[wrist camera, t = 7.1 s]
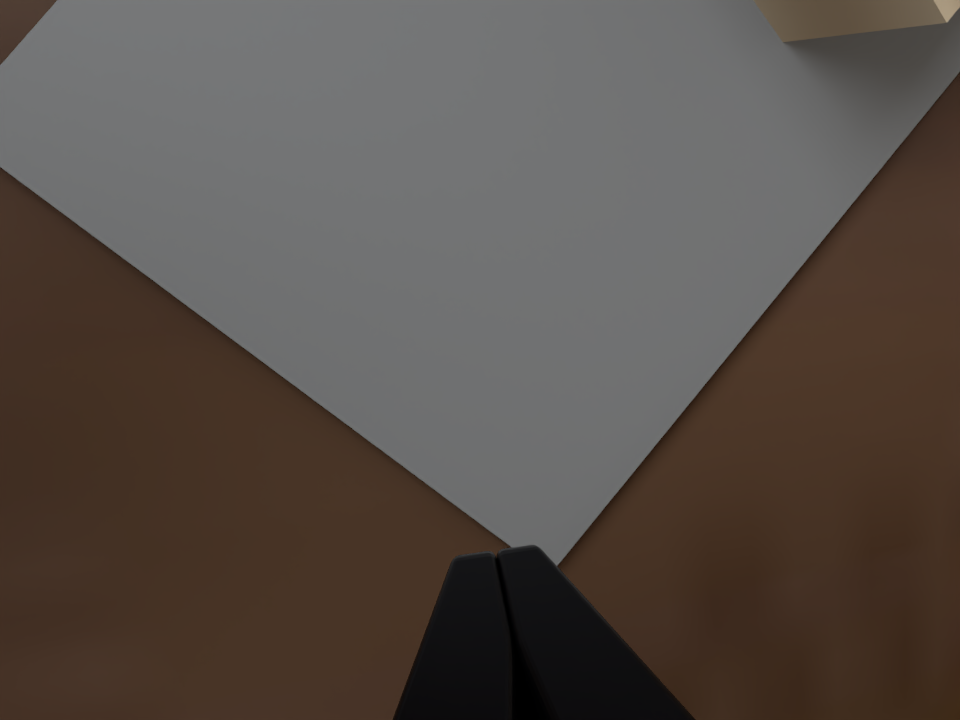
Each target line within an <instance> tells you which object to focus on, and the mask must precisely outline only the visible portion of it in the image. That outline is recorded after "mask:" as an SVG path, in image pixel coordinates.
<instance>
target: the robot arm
mask: <svg viewBox="0 0 960 720" xmlns="http://www.w3.org/2000/svg"><path fill="white" fill-rule="evenodd" d="M393 720H695V719H694V717H693V716H692V715H691V714H690V713H689V712H688V711H687V710H686V709H685V707H684V706H683V705H682V704H681V703H680V702H679V701H678V700H677V699H676V698H675V696H674V695H673V694H672V693H671V692H670V691H669V690H668V689H667V688H666V686H665V685H664V684H663V683H662V682H661V681H660V680H659V679H658V678H657V676H656V675H655V674H654V673H653V672H652V671H651V670H650V669H649V668H648V666H647V665H646V664H645V663H644V662H643V661H642V660H641V659H640V658H639V657H638V655H637V654H636V653H635V652H634V651H633V650H632V649H631V648H630V647H629V645H628V644H627V643H626V642H625V641H624V640H623V639H622V638H621V637H620V635H619V634H618V633H617V632H616V631H615V630H614V629H613V628H612V627H611V625H610V624H609V623H608V622H607V621H606V620H605V619H604V618H603V617H602V616H601V614H600V613H599V612H598V611H597V610H596V609H595V608H594V607H593V606H592V604H591V603H590V602H589V601H588V600H587V599H586V598H585V597H584V596H583V594H582V593H581V592H580V591H579V590H578V589H577V588H576V587H575V586H574V584H573V583H572V582H571V581H570V580H569V579H568V578H567V577H566V576H565V575H564V573H563V572H562V571H561V570H560V569H559V568H558V567H557V566H556V565H555V563H554V562H553V561H552V560H551V559H550V558H549V557H548V556H547V555H546V553H545V552H544V551H543V550H542V549H541V548H540V547H538V546H536V545H527V546H520V547H513V548H506V549H502V550H500V551H499V552H498V554H497V559H496V556H495V555H494V553H492V552H490V551H486V552H479V553H472V554H465V555H459V556H456V557H455V558H454V559H453V560H452V562H451V564H450V566H449V569H448V572H447V575H446V577H445V580H444V583H443V585H442V588H441V591H440V593H439V596H438V599H437V601H436V604H435V607H434V610H433V612H432V615H431V618H430V620H429V623H428V626H427V628H426V631H425V634H424V637H423V639H422V642H421V645H420V647H419V650H418V653H417V655H416V658H415V661H414V663H413V666H412V669H411V672H410V674H409V677H408V680H407V682H406V685H405V688H404V690H403V693H402V696H401V699H400V701H399V704H398V707H397V709H396V712H395V715H394V717H393Z"/></svg>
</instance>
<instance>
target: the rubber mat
mask: <svg viewBox="0 0 960 720" xmlns="http://www.w3.org/2000/svg"><path fill="white" fill-rule="evenodd" d="M959 72H960V7H959V9H958V10H957V11H956V12H955V13H954V15H953V16H952V17H951V18H950V20H949V21H948V22H947V23H941V24H933V25H924V26H916V27H907V28H899V29H890V30H882V31H873V32H865V33H856V34H848V35H839V36H831V37H822V38H814V39H805V40H797V41H789V42H782V40H781V39H780V37H779V36H778V35H777V33H776V32H775V30H774V29H773V28H772V26H771V25H770V23H769V22H768V20H767V19H766V18H765V16H764V15H763V13H762V12H761V10H760V9H759V8H758V6H757V5H756V3H755V2H754V0H57V1H56V3H55V4H54V5H53V6H52V7H51V8H50V9H49V11H48V12H47V13H46V14H45V15H44V16H43V17H42V19H41V20H40V21H39V22H38V23H37V24H36V25H35V26H34V28H33V29H32V30H31V31H30V32H29V33H28V34H27V36H26V37H25V38H24V39H23V40H22V41H21V42H20V44H19V45H18V46H17V47H16V48H15V49H14V50H13V52H12V53H11V54H10V55H9V56H8V57H7V58H6V60H5V61H4V62H3V63H2V64H1V65H0V167H1V168H2V169H4V170H5V171H6V172H8V173H9V174H10V175H12V176H13V177H14V178H16V179H17V180H18V181H20V182H21V183H23V184H24V185H25V186H27V187H28V188H29V189H31V190H32V191H33V192H35V193H36V194H37V195H39V196H40V197H41V198H43V199H44V200H45V201H47V202H48V203H49V204H51V205H52V206H53V207H55V208H56V209H58V210H59V211H60V212H62V213H63V214H64V215H66V216H67V217H68V218H70V219H71V220H72V221H74V222H75V223H76V224H78V225H79V226H80V227H82V228H83V229H84V230H86V231H87V232H88V233H90V234H91V235H92V236H94V237H95V238H97V239H98V240H99V241H101V242H102V243H103V244H105V245H106V246H107V247H109V248H110V249H111V250H113V251H114V252H115V253H117V254H118V255H119V256H121V257H122V258H123V259H125V260H126V261H127V262H129V263H130V264H131V265H133V266H134V267H136V268H137V269H138V270H140V271H141V272H142V273H144V274H145V275H146V276H148V277H149V278H150V279H152V280H153V281H154V282H156V283H157V284H158V285H160V286H161V287H162V288H164V289H165V290H166V291H168V292H169V293H171V294H172V295H173V296H175V297H176V298H177V299H179V300H180V301H181V302H183V303H184V304H185V305H187V306H188V307H189V308H191V309H192V310H193V311H195V312H196V313H197V314H199V315H200V316H201V317H203V318H204V319H205V320H207V321H208V322H210V323H211V324H212V325H214V326H215V327H216V328H218V329H219V330H220V331H222V332H223V333H224V334H226V335H227V336H228V337H230V338H231V339H232V340H234V341H235V342H236V343H238V344H239V345H240V346H242V347H243V348H244V349H246V350H247V351H249V352H250V353H251V354H253V355H254V356H255V357H257V358H258V359H259V360H261V361H262V362H263V363H265V364H266V365H267V366H269V367H270V368H271V369H273V370H274V371H275V372H277V373H278V374H279V375H281V376H282V377H283V378H285V379H286V380H288V381H289V382H290V383H292V384H293V385H294V386H296V387H297V388H298V389H300V390H301V391H302V392H304V393H305V394H306V395H308V396H309V397H310V398H312V399H313V400H314V401H316V402H317V403H318V404H320V405H321V406H323V407H324V408H325V409H327V410H328V411H329V412H331V413H332V414H333V415H335V416H336V417H337V418H339V419H340V420H341V421H343V422H344V423H345V424H347V425H348V426H349V427H351V428H352V429H353V430H355V431H356V432H357V433H359V434H360V435H362V436H363V437H364V438H366V439H367V440H368V441H370V442H371V443H372V444H374V445H375V446H376V447H378V448H379V449H380V450H382V451H383V452H384V453H386V454H387V455H388V456H390V457H391V458H392V459H394V460H395V461H396V462H398V463H399V464H401V465H402V466H403V467H405V468H406V469H407V470H409V471H410V472H411V473H413V474H414V475H415V476H417V477H418V478H419V479H421V480H422V481H423V482H425V483H426V484H427V485H429V486H430V487H431V488H433V489H434V490H436V491H437V492H438V493H440V494H441V495H442V496H444V497H445V498H446V499H448V500H449V501H450V502H452V503H453V504H454V505H456V506H457V507H458V508H460V509H461V510H462V511H464V512H465V513H466V514H468V515H469V516H470V517H472V518H473V519H475V520H476V521H477V522H479V523H480V524H481V525H483V526H484V527H485V528H487V529H488V530H489V531H491V532H492V533H493V534H495V535H496V536H497V537H499V538H500V539H501V540H503V541H504V542H505V543H507V544H508V545H509V546H511V547H512V548H513V547H520V546H527V545H536V546H538V547H540V548H541V549H542V550H543V551H544V552H545V553H546V555H547V556H548V557H549V558H550V559H551V560H552V561H553V562H554V563H555V565H556V566H558V564H559V563H560V562H561V561H562V559H563V558H564V557H565V556H566V554H567V553H568V552H569V551H570V550H571V548H572V547H573V546H574V545H575V543H576V542H577V541H578V540H579V539H580V537H581V536H582V535H583V534H584V532H585V531H586V530H587V529H588V527H589V526H590V525H591V524H592V523H593V521H594V520H595V519H596V518H597V516H598V515H599V514H600V513H601V512H602V510H603V509H604V508H605V507H606V505H607V504H608V503H609V502H610V500H611V499H612V498H613V497H614V496H615V494H616V493H617V492H618V491H619V489H620V488H621V487H622V486H623V485H624V483H625V482H626V481H627V480H628V478H629V477H630V476H631V475H632V473H633V472H634V471H635V470H636V469H637V467H638V466H639V465H640V464H641V462H642V461H643V460H644V459H645V458H646V456H647V455H648V454H649V453H650V451H651V450H652V449H653V448H654V446H655V445H656V444H657V443H658V442H659V440H660V439H661V438H662V437H663V435H664V434H665V433H666V432H667V430H668V429H669V428H670V427H671V426H672V424H673V423H674V422H675V421H676V419H677V418H678V417H679V416H680V415H681V413H682V412H683V411H684V410H685V408H686V407H687V406H688V405H689V403H690V402H691V401H692V400H693V399H694V397H695V396H696V395H697V394H698V392H699V391H700V390H701V389H702V388H703V386H704V385H705V384H706V383H707V381H708V380H709V379H710V378H711V376H712V375H713V374H714V373H715V372H716V370H717V369H718V368H719V367H720V365H721V364H722V363H723V362H724V361H725V359H726V358H727V357H728V356H729V354H730V353H731V352H732V351H733V349H734V348H735V347H736V346H737V345H738V343H739V342H740V341H741V340H742V338H743V337H744V336H745V335H746V334H747V332H748V331H749V330H750V329H751V327H752V326H753V325H754V324H755V322H756V321H757V320H758V319H759V318H760V316H761V315H762V314H763V313H764V311H765V310H766V309H767V308H768V307H769V305H770V304H771V303H772V302H773V300H774V299H775V298H776V297H777V295H778V294H779V293H780V292H781V291H782V289H783V288H784V287H785V286H786V284H787V283H788V282H789V281H790V280H791V278H792V277H793V276H794V275H795V273H796V272H797V271H798V270H799V268H800V267H801V266H802V265H803V264H804V262H805V261H806V260H807V259H808V257H809V256H810V255H811V254H812V253H813V251H814V250H815V249H816V248H817V246H818V245H819V244H820V243H821V241H822V240H823V239H824V238H825V237H826V235H827V234H828V233H829V232H830V230H831V229H832V228H833V227H834V226H835V224H836V223H837V222H838V221H839V219H840V218H841V217H842V216H843V214H844V213H845V212H846V211H847V210H848V208H849V207H850V206H851V205H852V203H853V202H854V201H855V200H856V199H857V197H858V196H859V195H860V194H861V192H862V191H863V190H864V189H865V187H866V186H867V185H868V184H869V183H870V181H871V180H872V179H873V178H874V176H875V175H876V174H877V173H878V171H879V170H880V169H881V168H882V167H883V165H884V164H885V163H886V162H887V160H888V159H889V158H890V157H891V156H892V154H893V153H894V152H895V151H896V149H897V148H898V147H899V146H900V144H901V143H902V142H903V141H904V140H905V138H906V137H907V136H908V135H909V133H910V132H911V131H912V130H913V129H914V127H915V126H916V125H917V124H918V122H919V121H920V120H921V119H922V117H923V116H924V115H925V114H926V113H927V111H928V110H929V109H930V108H931V106H932V105H933V104H934V103H935V102H936V100H937V99H938V98H939V97H940V95H941V94H942V93H943V92H944V90H945V89H946V88H947V87H948V86H949V84H950V83H951V82H952V81H953V79H954V78H955V77H956V76H957V75H958V73H959Z"/></svg>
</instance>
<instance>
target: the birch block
mask: <svg viewBox="0 0 960 720" xmlns="http://www.w3.org/2000/svg"><path fill="white" fill-rule="evenodd" d="M754 2H755V3H756V5H757V6H758V8H759V9H760V10H761V12H762V13H763V15H764V16H765V18H766V19H767V20H768V22H769V23H770V25H771V26H772V28H773V29H774V30H775V32H776V33H777V35H778V36H779V37H780V39H781V40H782V42H789V41H797V40H805V39H814V38H822V37H831V36H839V35H848V34H856V33H865V32H873V31H882V30H890V29H899V28H907V27H916V26H924V25H933V24H941V23H947V22H948V21H949V20H950V18H951V17H952V16H953V15H954V13H955V12H956V11H957V10H958V9H959V7H960V0H754Z"/></svg>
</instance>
